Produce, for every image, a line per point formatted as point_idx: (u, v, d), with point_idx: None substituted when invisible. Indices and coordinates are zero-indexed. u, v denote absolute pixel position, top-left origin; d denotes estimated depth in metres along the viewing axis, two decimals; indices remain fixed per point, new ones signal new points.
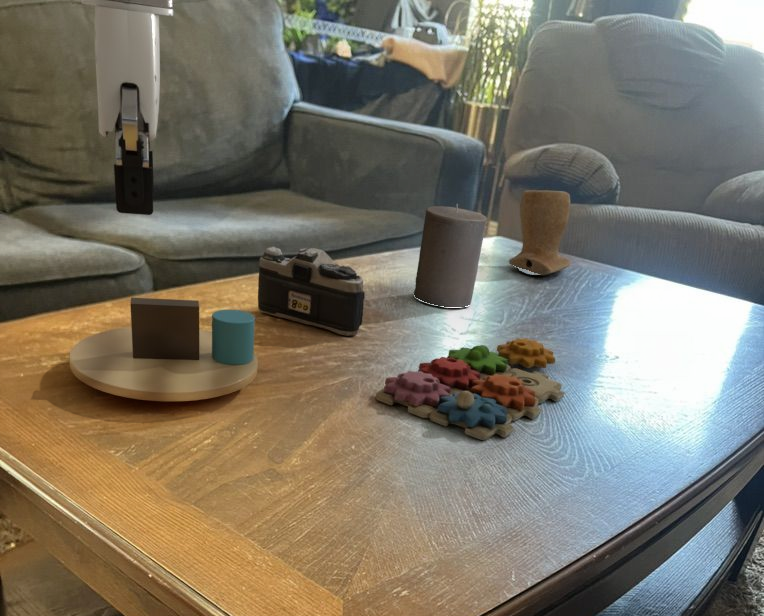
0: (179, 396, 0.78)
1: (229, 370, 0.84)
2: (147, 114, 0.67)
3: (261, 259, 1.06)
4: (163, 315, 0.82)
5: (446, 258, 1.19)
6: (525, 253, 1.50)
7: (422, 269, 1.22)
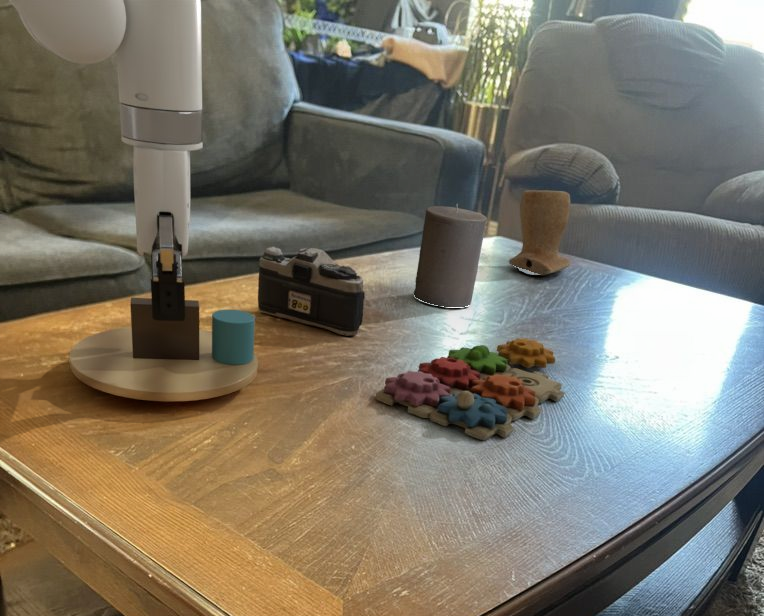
0: (179, 396, 0.78)
1: (229, 370, 0.84)
2: (180, 237, 0.75)
3: (261, 259, 1.06)
4: None
5: (446, 258, 1.19)
6: (525, 253, 1.50)
7: (422, 269, 1.22)
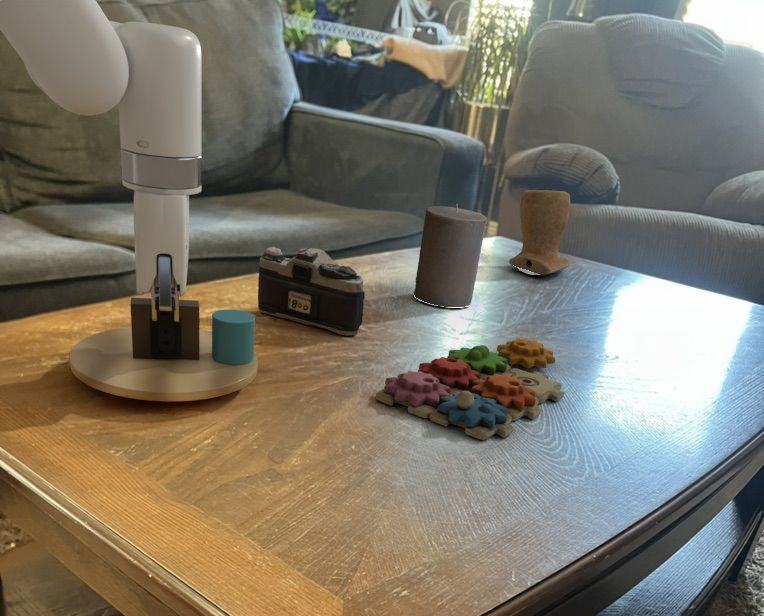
0: (179, 396, 0.78)
1: (229, 370, 0.84)
2: None
3: (261, 259, 1.06)
4: None
5: (446, 258, 1.19)
6: (525, 253, 1.50)
7: (422, 269, 1.22)
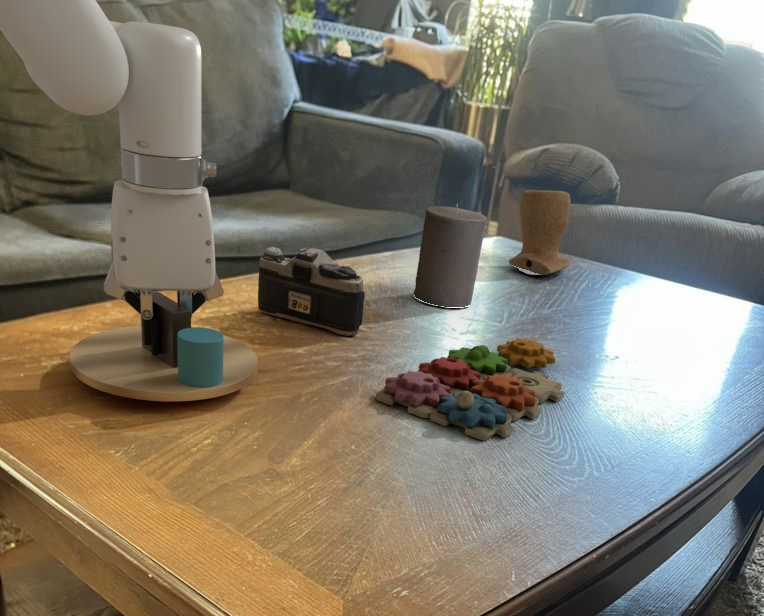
0: (83, 378, 0.79)
1: (164, 382, 0.79)
2: None
3: (261, 259, 1.06)
4: (155, 312, 0.83)
5: (446, 258, 1.19)
6: (525, 253, 1.50)
7: (422, 269, 1.22)
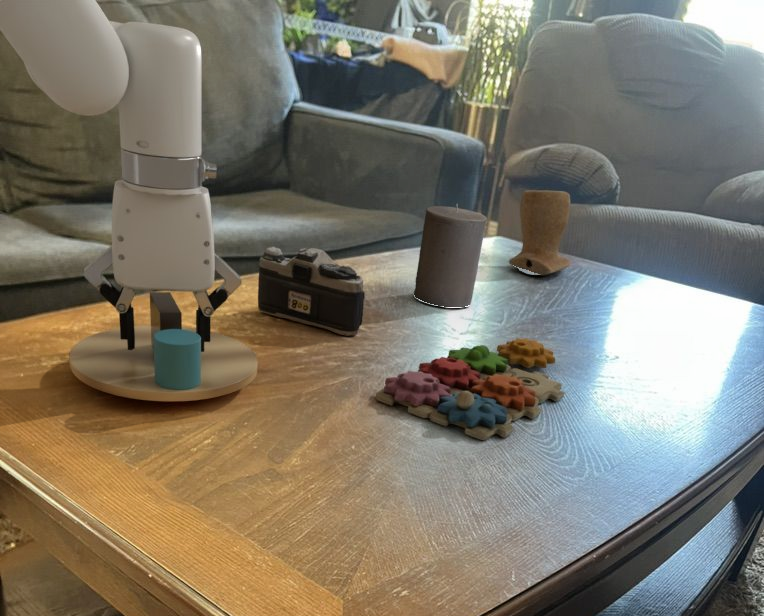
0: (71, 366, 0.81)
1: (138, 380, 0.79)
2: None
3: (261, 259, 1.06)
4: (154, 311, 0.83)
5: (446, 258, 1.19)
6: (525, 253, 1.50)
7: (422, 269, 1.22)
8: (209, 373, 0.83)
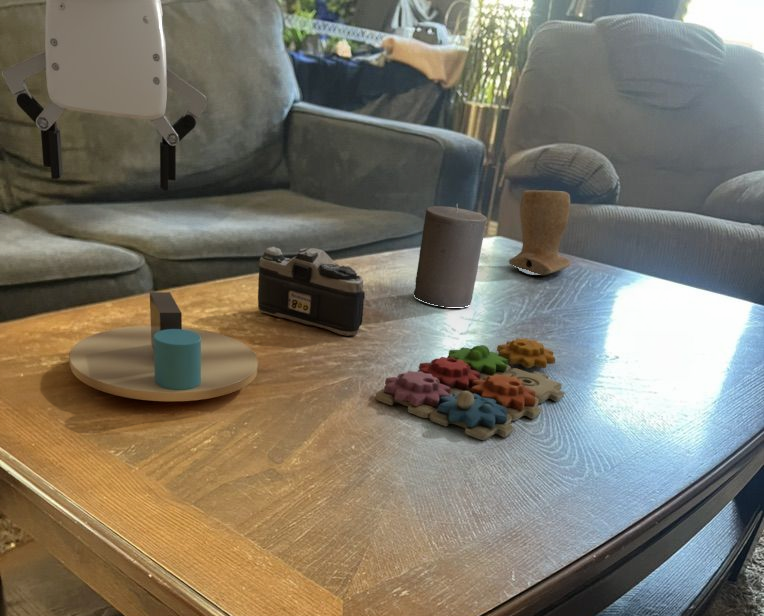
0: (71, 366, 0.81)
1: (138, 380, 0.79)
2: (46, 77, 0.67)
3: (261, 259, 1.06)
4: (154, 311, 0.83)
5: (446, 258, 1.19)
6: (525, 253, 1.50)
7: (422, 269, 1.22)
8: (209, 373, 0.83)
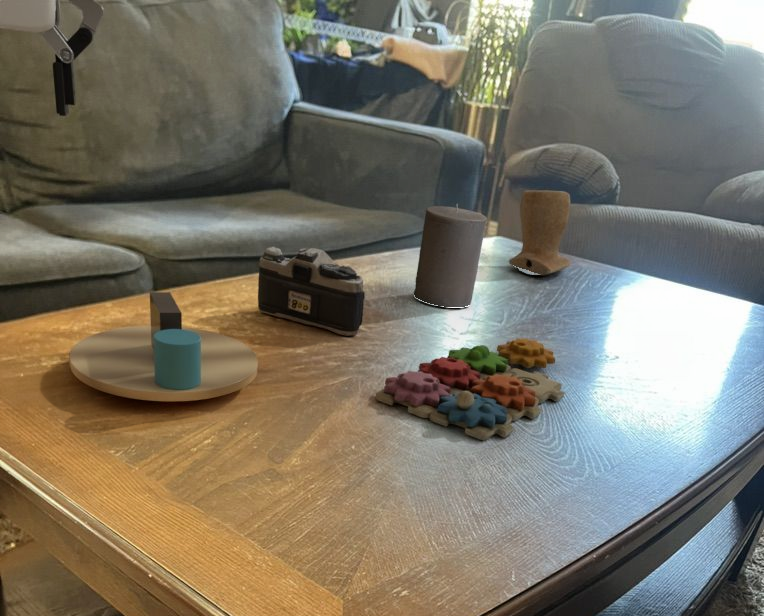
0: (71, 366, 0.81)
1: (138, 380, 0.79)
2: None
3: (261, 259, 1.06)
4: (154, 311, 0.83)
5: (446, 258, 1.19)
6: (525, 253, 1.50)
7: (422, 269, 1.22)
8: (209, 373, 0.83)
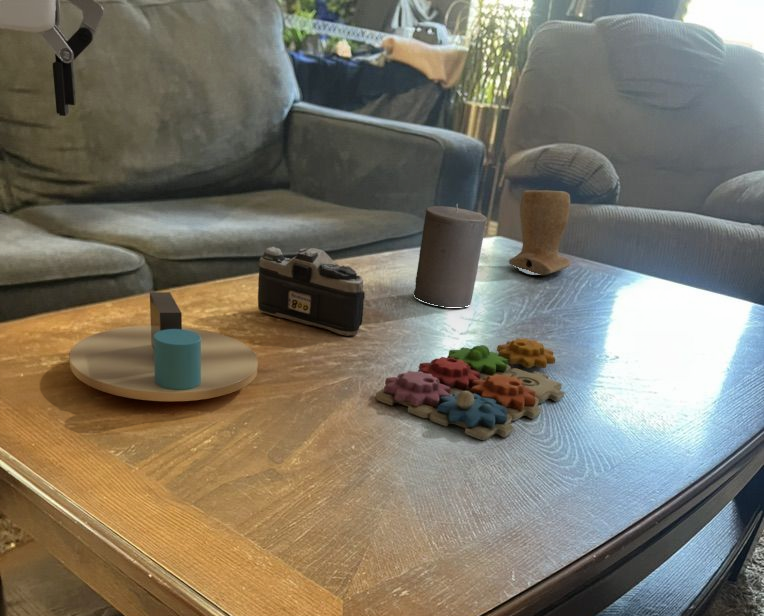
0: (71, 366, 0.81)
1: (138, 380, 0.79)
2: None
3: (261, 259, 1.06)
4: (154, 311, 0.83)
5: (446, 258, 1.19)
6: (525, 253, 1.50)
7: (422, 269, 1.22)
8: (209, 373, 0.83)
